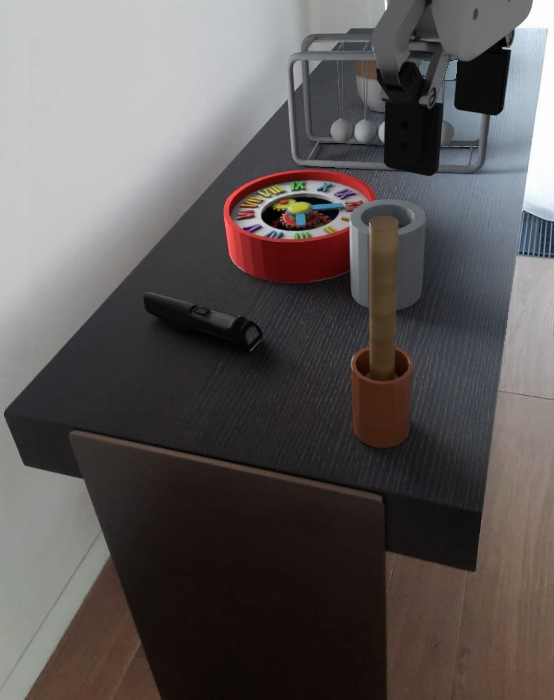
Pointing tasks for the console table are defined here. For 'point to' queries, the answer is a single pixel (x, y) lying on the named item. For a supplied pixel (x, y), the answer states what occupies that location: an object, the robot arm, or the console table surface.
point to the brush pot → (382, 401)
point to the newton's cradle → (364, 128)
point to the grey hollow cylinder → (408, 249)
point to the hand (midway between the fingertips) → (446, 138)
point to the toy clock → (294, 225)
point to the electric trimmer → (204, 320)
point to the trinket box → (369, 84)
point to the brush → (383, 296)
